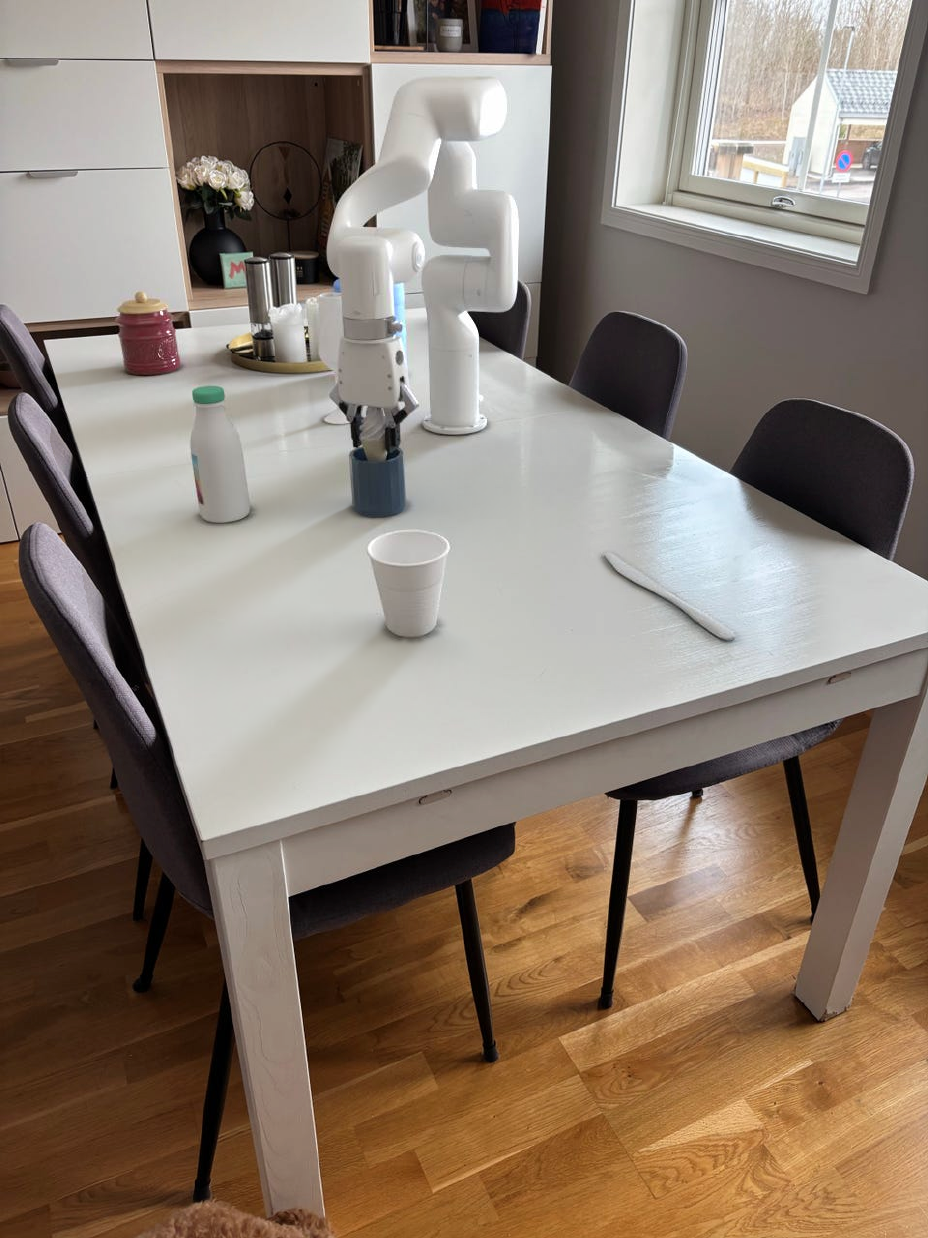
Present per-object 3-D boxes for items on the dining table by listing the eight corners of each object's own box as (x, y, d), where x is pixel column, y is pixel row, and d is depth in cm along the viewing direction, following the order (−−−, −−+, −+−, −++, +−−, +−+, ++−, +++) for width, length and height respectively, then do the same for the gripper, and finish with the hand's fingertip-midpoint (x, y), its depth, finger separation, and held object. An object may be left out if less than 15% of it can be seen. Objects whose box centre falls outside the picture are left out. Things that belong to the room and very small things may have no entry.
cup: (371, 609, 123) (366, 531, 117) (448, 605, 124) (446, 527, 118) (371, 649, 114) (366, 567, 109) (454, 644, 115) (452, 562, 109)
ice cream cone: (389, 492, 148) (384, 397, 140) (358, 490, 149) (351, 395, 141) (398, 480, 152) (393, 387, 145) (367, 478, 153) (361, 386, 146)
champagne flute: (317, 421, 190) (306, 297, 178) (334, 411, 196) (324, 290, 184) (347, 425, 188) (338, 299, 176) (363, 415, 193) (355, 292, 182)
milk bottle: (259, 507, 152) (244, 383, 142) (234, 526, 146) (216, 398, 136) (217, 502, 154) (199, 379, 145) (191, 520, 148) (170, 393, 138)
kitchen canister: (139, 360, 233) (125, 285, 224) (189, 362, 231) (178, 286, 223) (115, 375, 222) (100, 296, 213) (168, 376, 220) (155, 297, 211)
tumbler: (369, 493, 157) (365, 441, 153) (414, 501, 154) (412, 448, 150) (343, 512, 150) (339, 458, 146) (390, 520, 147) (387, 465, 143)
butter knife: (719, 640, 114) (739, 633, 115) (596, 555, 135) (613, 550, 136) (719, 644, 114) (738, 637, 115) (596, 559, 136) (613, 553, 137)
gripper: (433, 327, 138) (436, 447, 147) (331, 317, 144) (340, 433, 153) (409, 338, 132) (414, 462, 141) (305, 328, 138) (316, 447, 147)
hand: (376, 446), depth 147 cm, fingers closed on ice cream cone, 5 cm apart
